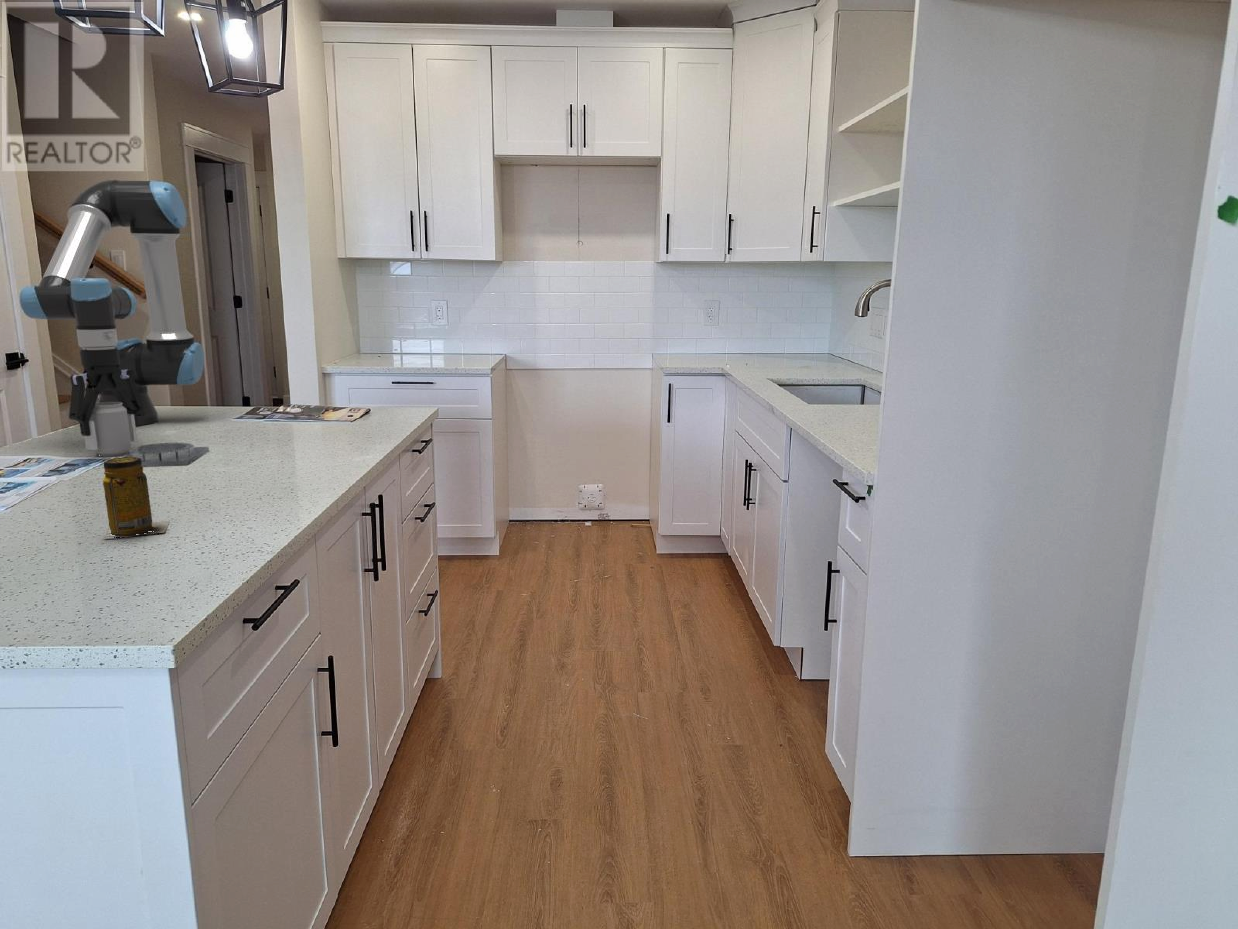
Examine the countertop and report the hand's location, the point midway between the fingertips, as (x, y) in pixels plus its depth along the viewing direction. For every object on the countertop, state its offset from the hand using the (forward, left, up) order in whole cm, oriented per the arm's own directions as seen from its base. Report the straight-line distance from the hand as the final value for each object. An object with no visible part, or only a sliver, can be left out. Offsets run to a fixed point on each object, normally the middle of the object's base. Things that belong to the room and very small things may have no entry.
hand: (112, 445), depth 186 cm
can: (0, 0, -2) cm, 2 cm away
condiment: (+63, +28, -2) cm, 69 cm away
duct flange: (+7, +13, -2) cm, 15 cm away
